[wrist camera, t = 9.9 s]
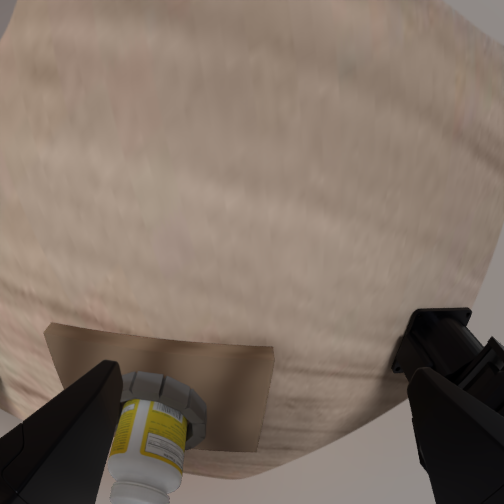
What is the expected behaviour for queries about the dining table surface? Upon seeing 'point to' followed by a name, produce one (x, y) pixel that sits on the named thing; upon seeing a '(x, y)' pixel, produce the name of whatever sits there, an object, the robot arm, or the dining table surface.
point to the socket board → (178, 380)
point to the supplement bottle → (147, 453)
